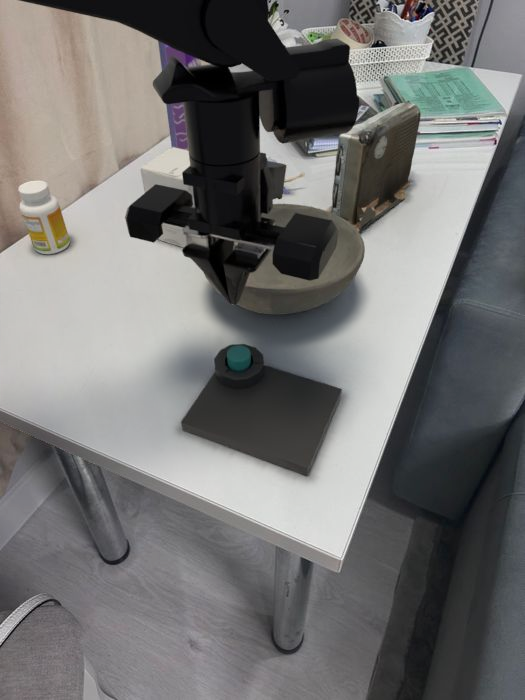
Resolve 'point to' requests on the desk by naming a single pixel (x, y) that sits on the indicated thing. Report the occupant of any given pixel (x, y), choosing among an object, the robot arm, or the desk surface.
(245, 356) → the button
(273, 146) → the desk surface
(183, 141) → the cereal box
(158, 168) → the ink box
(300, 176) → the fairy figurine
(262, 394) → the scale
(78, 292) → the desk surface
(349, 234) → the bowl
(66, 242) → the supplement bottle
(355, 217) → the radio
